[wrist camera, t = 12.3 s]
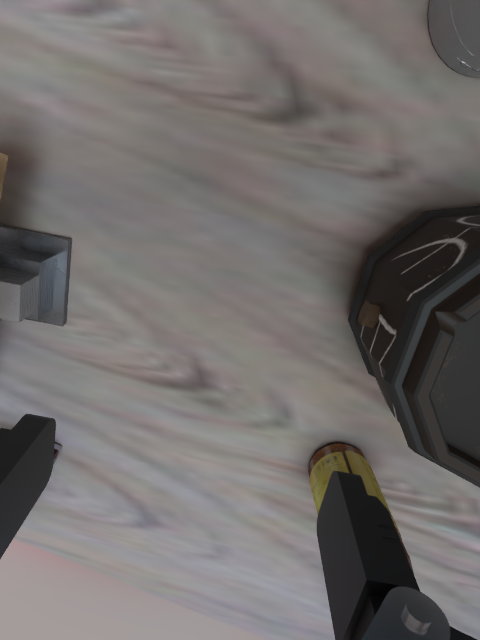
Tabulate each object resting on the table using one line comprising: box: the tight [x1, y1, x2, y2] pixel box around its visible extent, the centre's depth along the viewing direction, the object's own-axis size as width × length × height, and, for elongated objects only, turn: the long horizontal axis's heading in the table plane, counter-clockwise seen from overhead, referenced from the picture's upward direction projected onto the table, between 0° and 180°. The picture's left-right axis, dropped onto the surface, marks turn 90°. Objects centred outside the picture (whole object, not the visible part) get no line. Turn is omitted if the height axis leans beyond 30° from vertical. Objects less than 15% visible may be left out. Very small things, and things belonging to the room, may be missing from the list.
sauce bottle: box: [309, 443, 414, 574], centre depth 37 cm, size 6×6×20 cm
